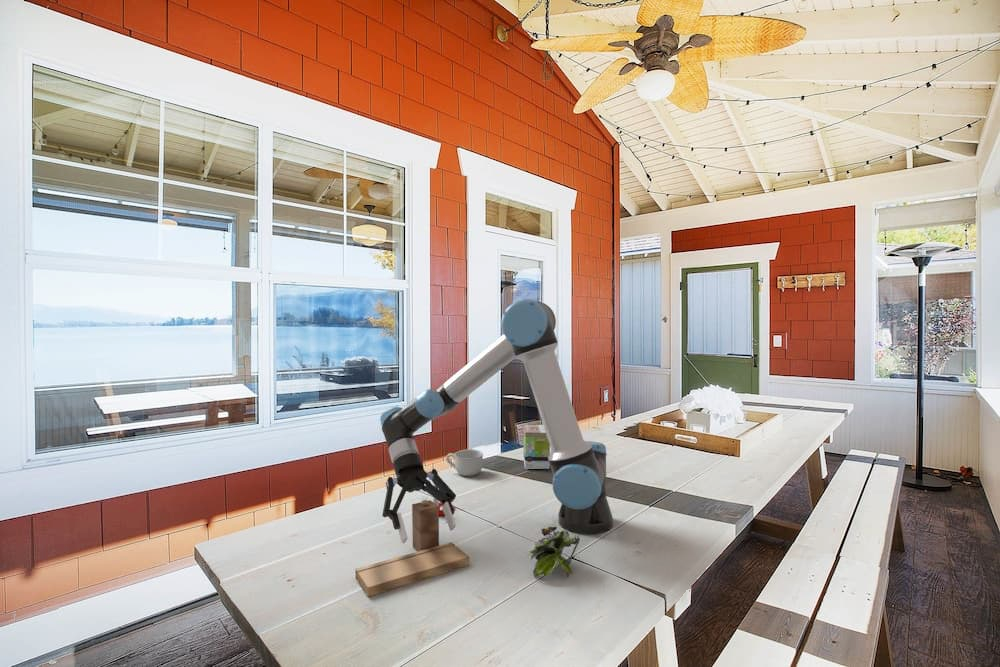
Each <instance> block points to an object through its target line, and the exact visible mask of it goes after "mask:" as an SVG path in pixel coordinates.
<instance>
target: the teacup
mask: <svg viewBox="0 0 1000 667" xmlns="http://www.w3.org/2000/svg"><path fill="white" fill-rule="evenodd" d="M450 457H453V460H454V463H453V462H452V461H451V460H450ZM483 457H484V453H483V451H481V450H477V449H472V448H471V449H469V448H468V449H462V450H458V451H456V452H455V453H453V452H450V453H448V454H447V455H446V457H445V459H446V462H447V463H448V464H449V465H450V466H451V467H452V468H454V469H455V470H456V472H457V473H458V474H459V475H461V476H462V477H474V476H477V475H479V473H480V472H481V471H482V469H483V463H484V461H483V459H484V458H483Z"/></svg>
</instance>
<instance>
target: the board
mask: <svg viewBox="0 0 1000 667" xmlns="http://www.w3.org/2000/svg"><path fill="white" fill-rule="evenodd" d="M469 565H470V556H469V555H468V554H466V553H465V551H463V550H462V549H461V548H459V547H458V546H457V545H456V544H455V543H453V542H447V543H443V544H439V546H436V547H433V548H429V549H425V550H422V551H418V552H417V551H414V552H412V553H408V554H405V555H400V556H398V557H394V558H390V559H387V560H383V561H379V562H376V563H372V564H369V565H365V566H362V567H361V566H360V567H358V568H355V571H354V572H355V573H354V574H355V579H356V581H357V583H358V584H359V585H360V587H361V588H362V590H363V591H365V592H364V593H365V594H367V595H366V596H367V597H368V598H369V597H372V596H374V595H375V596H376V595H378V594H382V593H385V592H388V591H391V590H394V589H397V588H401V587H404V586H406V585H411V584H413V583H417V582H420V581H423V580H425V579H426V580H427V579H429V578H432V577H436V576H439V575H441V574H445V573H449V572H451V571H455V570H457V569H461V568H464V567H467V566H469Z"/></svg>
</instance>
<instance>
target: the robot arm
mask: <svg viewBox="0 0 1000 667" xmlns="http://www.w3.org/2000/svg"><path fill="white" fill-rule="evenodd" d="M556 322H557V319H556V314H555V313H554V311H553V309H552V308H551V307H550V306H549V305H547V304H546V303H544V302H542V301H539V300H533V299H530V298H524V299H521V300H517V301H515V302H512V303H511V304H510V305H508V306H507V308H506V309H505V310H504V313H503V314H502V317H501V322H500V324H501V325H500V326H501V332H502V335H501V336H499V337H498V338H497V339H496V340H494V342H492V343H490V345H489V346H487V347H486V348H485V349H484V350H483V351H481V352H480V353H479V354H478V355H477V356H475V357H474V358H473V359H472V360H470V361H469V362H468V363H467V364H465V366H463V367H462V368H461V369H460V370H459V371H457V372H456V373H455V374H453V376H451V377H450V378H449V379H448V380H447V381H446V382H444V383H443V384H442V385H440V386H439V387H438V388H437V389H436V390H435V389H434V390H433V389H432V388H427V389H425V390H424V391H423V392H422V393H419V394H418V395H417V396H416V397H414V399H412V400H411V401H410V402H409V403H408V404H406V405H405V406H404V407H403V408H402V407H401V406H400V407H399V406H393V407H391V408H389V409H386V410H384V411H383V412H382V414H381V415H380V417H379V418H380V419H379V421H380V426H381V431H382V433H383V436H384V439H385V442H386V445H387V448H388V453H389V456H390V460H391V463H392V467H393V471H394V473H395V476H396V478H395V477H394V478H393V477H392V476H388V477H387V480H386V482H385V486H386V494H385V498H384V504H383V509H382V517H383V518H387V517H388V518H389V520H391V522H392V526H393V529H394V530H395V531H396V530H398V534H399V538H400V541H401V544H406V542H407V539H408V534H407V530H406V526H405V523H404V521H403V520H404V519H403V516H402V513H401V512H398V511H399V509H400V507H401V504H402V502H403V499H404V498H405V494H406V493H407V492H408V493H414V492H420V491H423V492H426V493H428V494H429V495H430V496H431V497H434V498H436V499H437V500H438V501H439V502H441V503H442V504H444V505H443V506H441V509H443V511H444V514H445V515H444V517H445V520H446V523H447V525H448V529H449V531H454V529H455V528H456V526H457V525H456V521H455V518H454V514H455V509H453V506H454V505H453V502H454V500H455V499H456V498H457V495H456V493H455V492H454V491H453V489H451V487H449V486H448V484H446V481H444V480H443V478H442V477H441V476H440V475H439V474H438V473H439V472H438V473H437V469H436V468H432V469H431V470H430V471H426V470H425V469H424V465H423V461H422V458H421V456H420V454H419V453H420V452H419V450H418V445H417V443H416V440H415V437H414V433H415V432H417V431H419V430H420V429H422V427H424V426H425V425H426V424H428V423H430V422H431V421H434V420H435V419H438V418H439V417H441V416H442V417H443V416H444V415H447V414H449V413H451V412H452V411H453V410H454V409H455V408H456V407H457V405H458V404H461V402H462V401H464V400H465V399H466V398H467V397H469V396H470V395H471V394H472V393H474V391H476V390H477V389H478V388H480V387H481V386H482V385H483V384H484V383H487V381H488V380H490V379H492V377H493V376H494V375H496V374H498V372H499V371H501V370H502V369H503V368H504V367H506V366H507V365H508V364H509V363H510V362H512V361H513V360H514V359H519V360H520V361H521V362H523V365H524V369H525V371H526V375H527V378H528V382H529V384H530V385H529V386H530V388H531V390H532V393H533V397H534V400H535V403H536V406H537V409H538V414H539V416H540V419H541V422H542V425H544V428H545V431H546V435H547V438H548V441H549V444H550V455H549V457H548V460H549V463H550V469H551V473H552V475H553V477H552V485H551V486H552V490H553V493H554V496H555V497H556V499H557V500H558V501H559V502H560V503H561V504H560V508H559V510H558V516H557V517H558V519H557V520H558V521H559V522H558V524H559V526H560V525H561V527H562V529H565V530H566V529H567V530H566V531H570V532H572V533H576V532H577V533H576V534H584V535H597V534H602V533H605V532H607V531H610V530H611V529H612V528H613V526H614V525H613V524H614V522H613V519H614V517H613V514H612V511H611V508H610V505H609V501H608V498H607V456H608V454H607V450H606V449H607V448H606V445H605V444H604V443H602V442H599V441H598V442H597V441H591V440H584V438H583V435H582V431H581V429H580V426H579V423H578V420H577V416H576V413H575V410H574V406H573V404H572V401H571V398H570V395H569V392H568V389H567V386H566V383H565V380H564V379H565V378H564V376H563V373H562V370H561V367H560V364H559V361H558V357H557V355H556V348H557V346H558V345H559V343H558V339H557V335H556V332H555V329H556V325H557V324H556ZM427 478H428V479H429V480H428V479H427ZM434 484H435V485H436V487H437V488H438V489H437V488H436V487H435V486H434ZM396 485H398V486H399V487H401V489H400V492H399V494H398V496H397V499H396V500H395V501H396V502H395V504H394V505H393V508H392V509H391V504H392V498H393V492H394V487H395V486H396ZM452 505H453V506H452Z"/></svg>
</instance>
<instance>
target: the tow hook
mask: <svg viewBox="0 0 1000 667" xmlns="http://www.w3.org/2000/svg"><path fill="white" fill-rule="evenodd" d="M436 471H437V470H436ZM437 473H439V471H437ZM433 486H435V487H436V485H435V484H434V483H433ZM436 488H437V487H436ZM437 489H438V488H437ZM432 497H433V496H432ZM432 500H433V501H432V502H433V503H435V504H436V505H438V506H439V516H445V514H444V511H443V508H441V507H443V505H444V504H442V503H441V502H440V501H438V500H437V499H436V498H434V497H433V498H432ZM452 506H453V509H454V508H455V507H454V504H452ZM454 510H455V509H454Z"/></svg>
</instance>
